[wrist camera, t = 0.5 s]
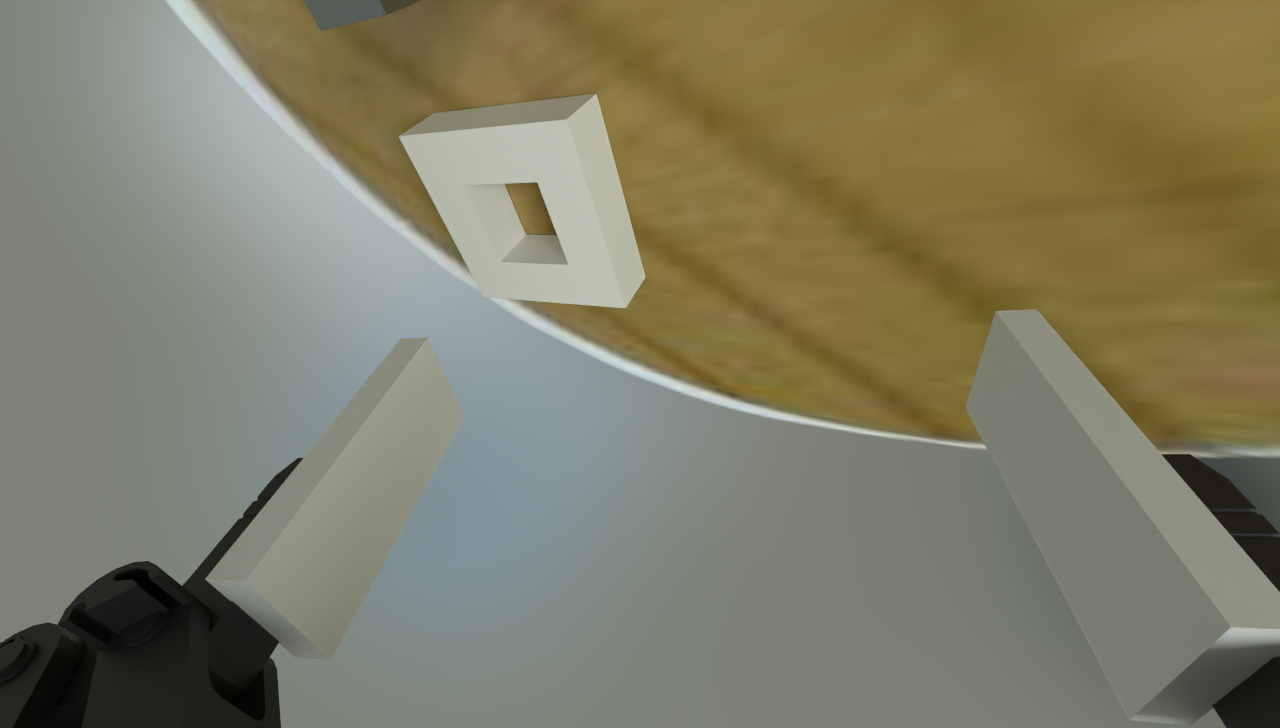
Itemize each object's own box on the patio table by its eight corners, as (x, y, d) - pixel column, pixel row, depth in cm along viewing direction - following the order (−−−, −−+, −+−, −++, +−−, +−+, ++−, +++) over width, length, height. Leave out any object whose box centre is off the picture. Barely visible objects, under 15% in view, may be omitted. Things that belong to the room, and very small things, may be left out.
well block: (434, 113, 39) (398, 136, 37) (596, 93, 33) (566, 119, 31) (508, 270, 49) (483, 296, 46) (645, 277, 43) (625, 308, 40)
